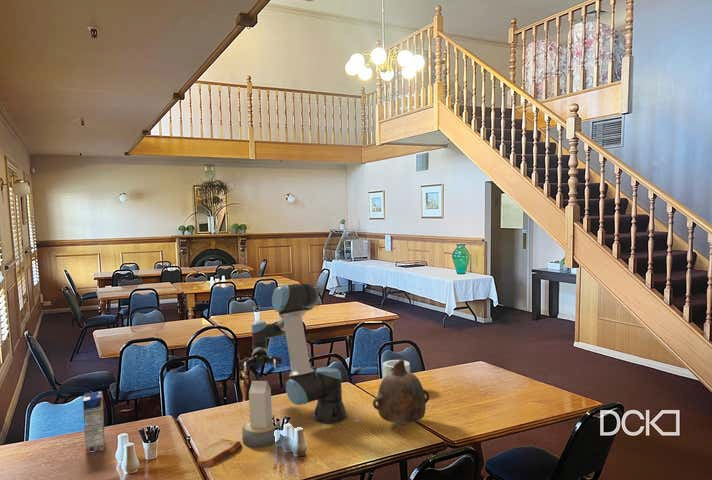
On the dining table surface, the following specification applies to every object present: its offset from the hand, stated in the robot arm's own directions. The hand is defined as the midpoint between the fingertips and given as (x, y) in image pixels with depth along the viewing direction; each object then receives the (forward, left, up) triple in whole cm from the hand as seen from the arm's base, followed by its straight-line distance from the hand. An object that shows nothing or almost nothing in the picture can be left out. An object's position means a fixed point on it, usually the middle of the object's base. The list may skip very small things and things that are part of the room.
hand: (260, 366), depth 225 cm
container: (-47, -61, -27) cm, 82 cm away
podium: (-8, +14, -27) cm, 31 cm away
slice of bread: (+1, +31, -27) cm, 41 cm away
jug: (-62, -16, -27) cm, 70 cm away
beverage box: (+58, +40, -27) cm, 75 cm away
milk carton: (-8, +14, -21) cm, 26 cm away
